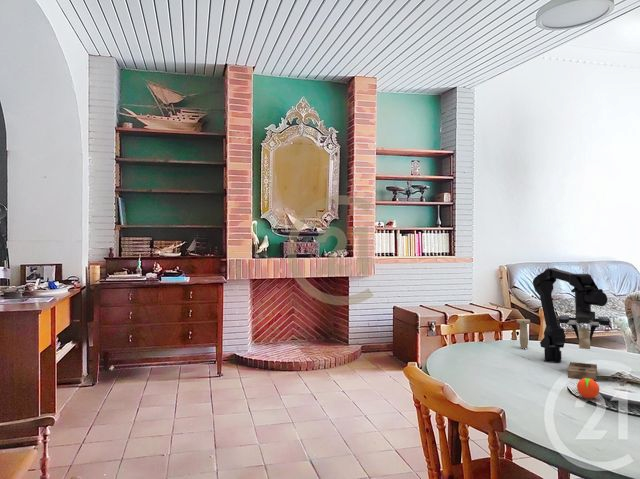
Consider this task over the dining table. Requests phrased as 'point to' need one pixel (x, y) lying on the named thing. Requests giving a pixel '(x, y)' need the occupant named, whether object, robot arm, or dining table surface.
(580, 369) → the socket block
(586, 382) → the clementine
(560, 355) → the robot arm
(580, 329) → the peg
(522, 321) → the handle
